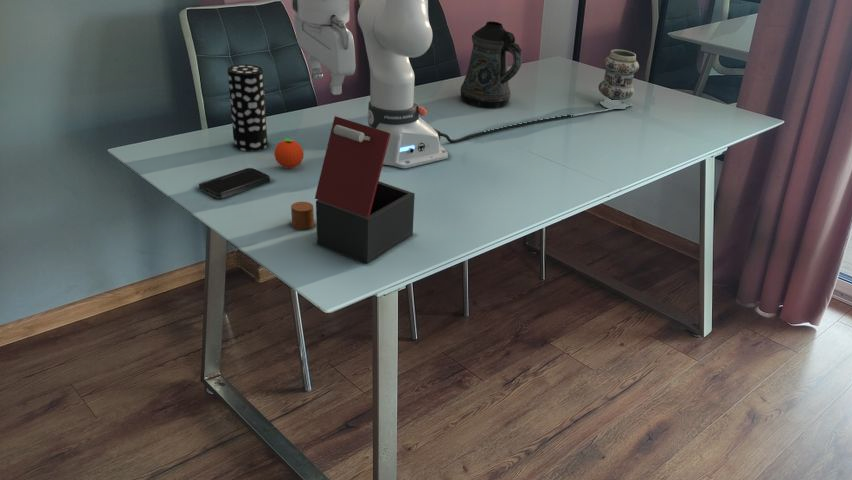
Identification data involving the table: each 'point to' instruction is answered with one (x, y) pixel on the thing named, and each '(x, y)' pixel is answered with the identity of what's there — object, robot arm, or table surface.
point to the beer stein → (490, 67)
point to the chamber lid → (352, 166)
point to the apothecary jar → (619, 75)
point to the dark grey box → (367, 225)
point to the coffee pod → (302, 215)
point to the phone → (234, 183)
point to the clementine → (288, 153)
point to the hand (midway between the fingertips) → (326, 85)
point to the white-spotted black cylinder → (247, 107)
